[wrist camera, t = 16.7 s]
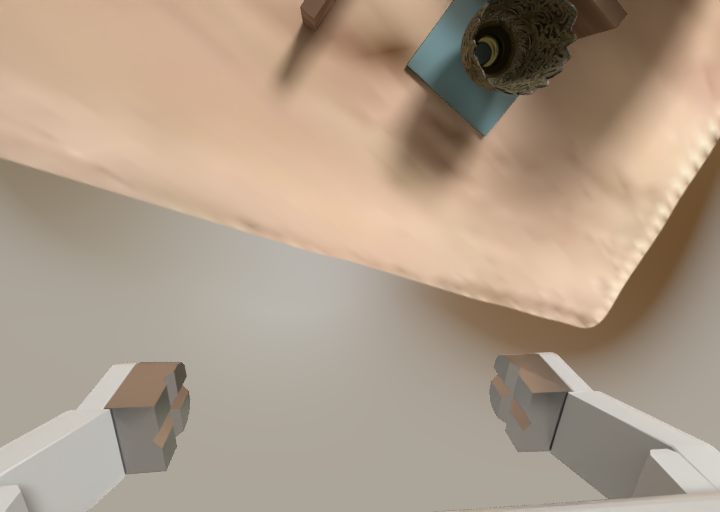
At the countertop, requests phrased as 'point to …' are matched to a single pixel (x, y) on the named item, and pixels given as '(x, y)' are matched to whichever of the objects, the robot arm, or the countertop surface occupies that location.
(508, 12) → the cup
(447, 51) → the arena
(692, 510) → the robot arm
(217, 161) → the countertop surface
